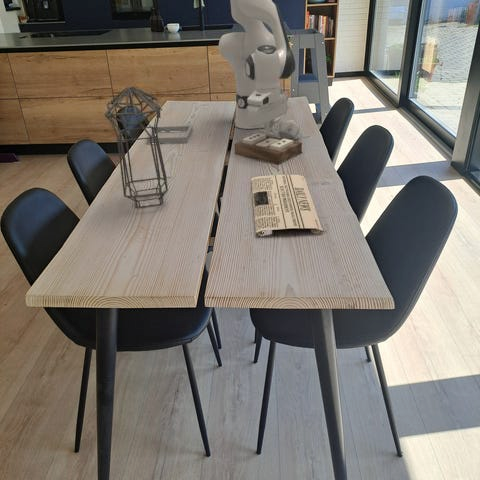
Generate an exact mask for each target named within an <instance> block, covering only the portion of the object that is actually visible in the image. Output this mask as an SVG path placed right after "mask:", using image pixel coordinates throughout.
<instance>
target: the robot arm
mask: <svg viewBox="0 0 480 480" xmlns="http://www.w3.org/2000/svg"><path fill="white" fill-rule="evenodd" d="M229 1H230V11H231V17H232V19H233V20H234V21H235V22H236V23H238V24H239V25H241V26H242V27H243V29H244V31H245V32H244V31H243V32H241V31H238V32H235V31H234V32H229V33H225V34H223V35H222V36H221V37H220V38H219V42H218V51H219V54H220V55H221V57H222V58H224V60H226V62H228V63H229V65H230V66H231V69H232V71H233V73H234V76H235V77H234V78H235V86H236V93H235V100H236V103H237V104H236V105H235V118H234V120H233V121H234V126H235V127H236V128H239V129H243V130H244V129H246V130H249V129H250V130H252V129H264V132H265V133H267V134H270V132H273V131H274V125H275V123H276V122H278V121H279V120H280V117H282V116H283V115H286V114H287V112H288V101H287V98H286V96H285V92H286V91H285V90H284V89H282V88H281V83H280V80H287V79H289V78H290V77H291V76H292V75H293V73H294V72H295V71H296V60H295V56H294V53H293V51H292V49H291V45H290V43H289V39H288V35H287V31H286V27H285V24H284V20H283V17H282V13H281V10H280V8H279V6H278V4H276V3H275V2H273V0H229ZM265 25H267V26H268V27H269V28H270V29H271V32H270V31H269V30H268V29H267V28H266V26H265Z"/></svg>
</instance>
